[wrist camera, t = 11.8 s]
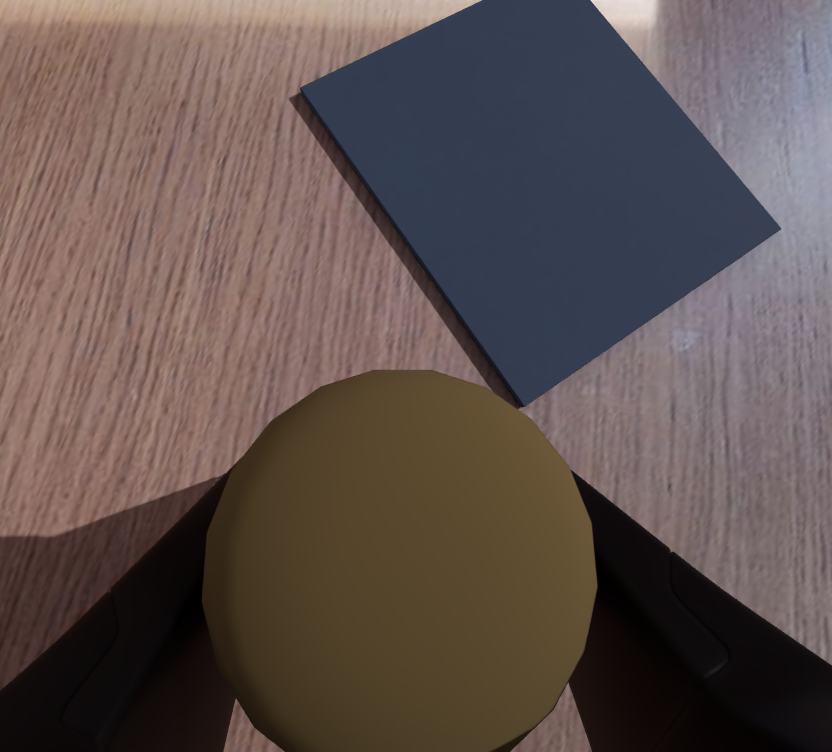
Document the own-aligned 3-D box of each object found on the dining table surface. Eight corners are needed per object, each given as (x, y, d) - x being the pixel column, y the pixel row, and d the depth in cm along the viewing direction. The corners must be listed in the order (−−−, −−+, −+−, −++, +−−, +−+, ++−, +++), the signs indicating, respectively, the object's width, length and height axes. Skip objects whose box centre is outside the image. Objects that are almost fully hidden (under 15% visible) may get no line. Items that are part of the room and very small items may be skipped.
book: (774, 233, 20) (782, 228, 20) (521, 408, 18) (524, 406, 17) (556, -29, 22) (559, -38, 22) (301, 94, 20) (299, 87, 19)
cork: (486, 432, 16) (688, 346, 6) (466, 617, 15) (684, 962, 4) (316, 407, 16) (191, 266, 5) (280, 592, 15) (21, 895, 4)
